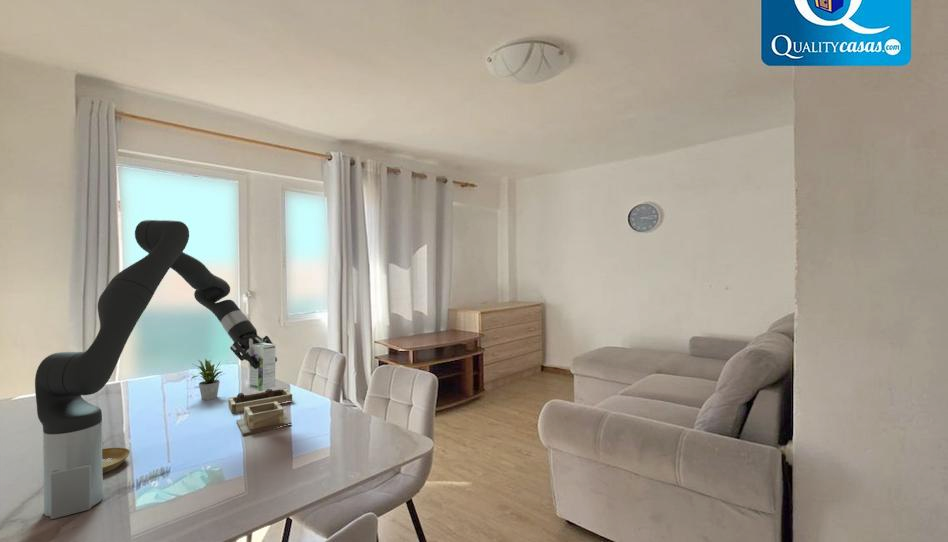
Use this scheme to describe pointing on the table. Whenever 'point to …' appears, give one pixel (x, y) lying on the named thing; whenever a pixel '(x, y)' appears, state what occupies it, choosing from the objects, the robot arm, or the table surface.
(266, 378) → the syrup box
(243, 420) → the socket
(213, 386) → the house plant
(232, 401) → the bolt rack
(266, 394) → the bolt
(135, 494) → the table surface
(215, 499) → the table surface
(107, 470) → the plant saucer
